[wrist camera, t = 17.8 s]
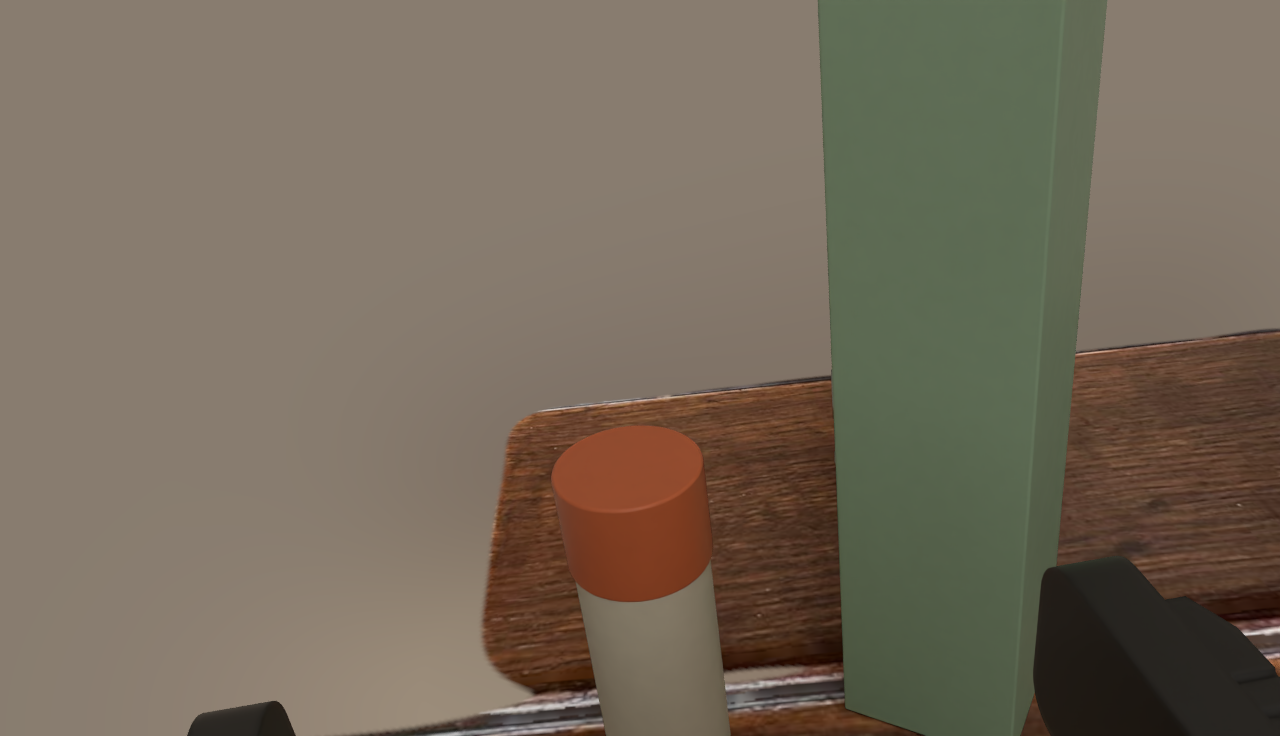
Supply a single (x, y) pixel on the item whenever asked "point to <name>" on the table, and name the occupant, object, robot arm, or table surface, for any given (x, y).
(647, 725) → the marker
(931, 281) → the holder
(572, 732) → the table surface
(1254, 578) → the table surface
